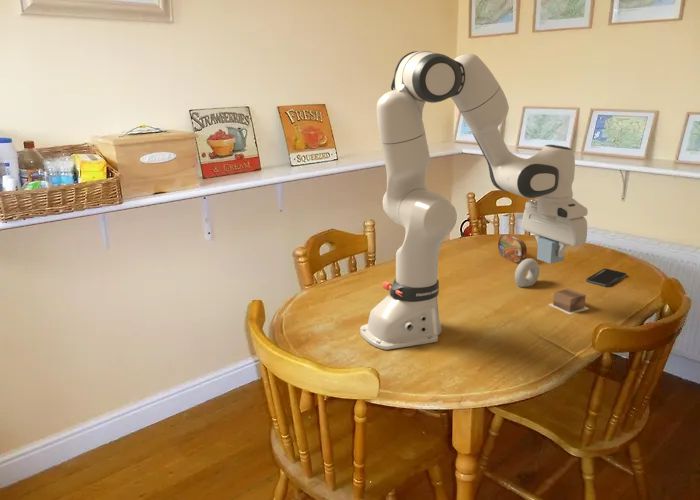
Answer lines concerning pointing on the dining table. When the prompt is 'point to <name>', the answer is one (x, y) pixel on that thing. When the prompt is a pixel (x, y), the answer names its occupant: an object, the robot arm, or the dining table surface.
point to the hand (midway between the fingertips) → (550, 253)
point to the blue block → (548, 250)
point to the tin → (512, 248)
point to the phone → (606, 277)
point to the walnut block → (569, 300)
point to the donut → (522, 270)
